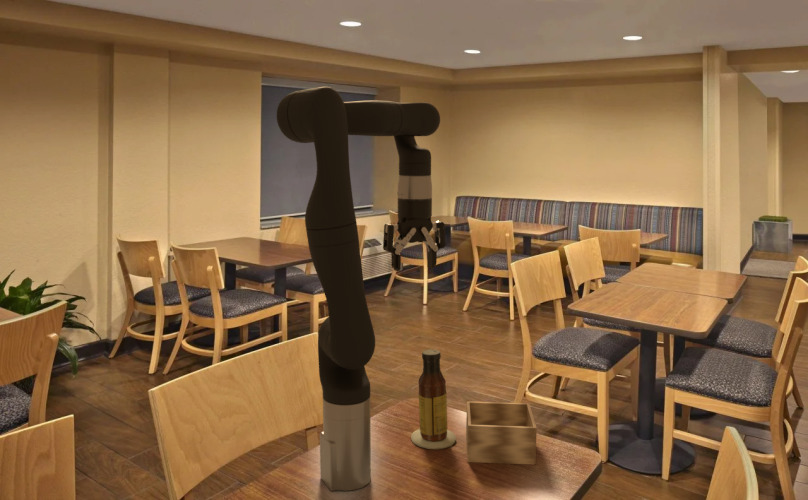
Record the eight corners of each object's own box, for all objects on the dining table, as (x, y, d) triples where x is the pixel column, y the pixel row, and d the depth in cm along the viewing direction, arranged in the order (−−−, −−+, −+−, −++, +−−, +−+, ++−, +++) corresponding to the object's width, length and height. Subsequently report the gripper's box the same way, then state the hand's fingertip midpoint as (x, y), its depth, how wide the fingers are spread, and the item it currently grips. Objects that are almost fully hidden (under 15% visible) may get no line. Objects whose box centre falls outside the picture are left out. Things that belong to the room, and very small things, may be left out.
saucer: (424, 453, 139) (424, 450, 139) (403, 434, 148) (403, 432, 148) (464, 443, 144) (464, 441, 143) (441, 426, 152) (441, 424, 152)
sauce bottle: (447, 431, 148) (448, 347, 145) (446, 443, 142) (448, 356, 139) (419, 430, 149) (419, 346, 146) (417, 442, 143) (417, 355, 140)
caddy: (467, 461, 135) (468, 425, 134) (466, 434, 148) (466, 401, 147) (535, 464, 134) (536, 428, 133) (528, 436, 147) (529, 403, 146)
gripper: (393, 198, 135) (392, 274, 138) (451, 196, 141) (450, 269, 144) (378, 196, 142) (378, 268, 144) (434, 194, 148) (433, 264, 151)
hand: (414, 269), depth 144 cm, fingers open, 8 cm apart
